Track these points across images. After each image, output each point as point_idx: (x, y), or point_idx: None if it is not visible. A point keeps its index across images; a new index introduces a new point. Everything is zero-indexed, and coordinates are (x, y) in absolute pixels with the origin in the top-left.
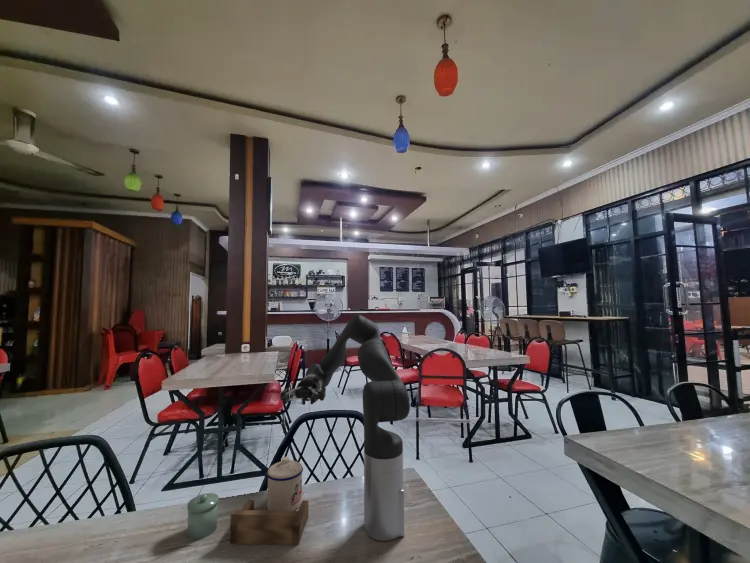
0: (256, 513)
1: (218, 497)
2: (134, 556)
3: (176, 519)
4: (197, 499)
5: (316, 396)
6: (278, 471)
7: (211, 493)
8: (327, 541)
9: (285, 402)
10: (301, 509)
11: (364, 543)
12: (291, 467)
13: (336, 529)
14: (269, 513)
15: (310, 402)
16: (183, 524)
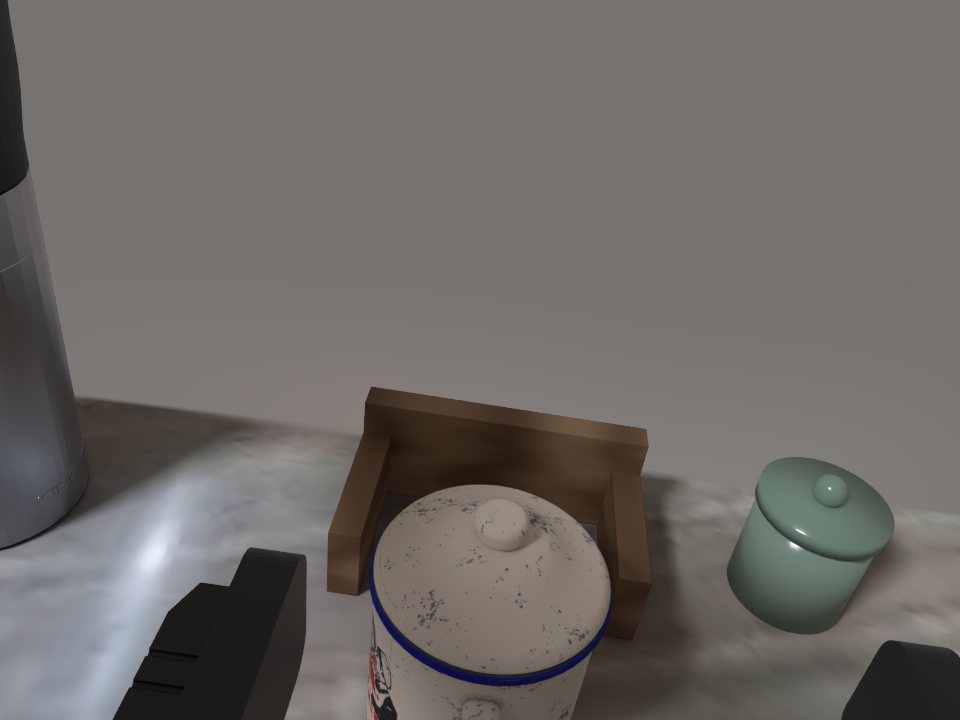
0: (545, 419)
1: (776, 511)
2: (906, 509)
3: None
4: (865, 514)
5: (116, 713)
6: (523, 502)
7: (839, 544)
8: (255, 468)
9: (859, 700)
10: (362, 484)
11: (117, 442)
12: (447, 511)
13: (205, 512)
14: (491, 410)
15: (304, 616)
16: (899, 631)
